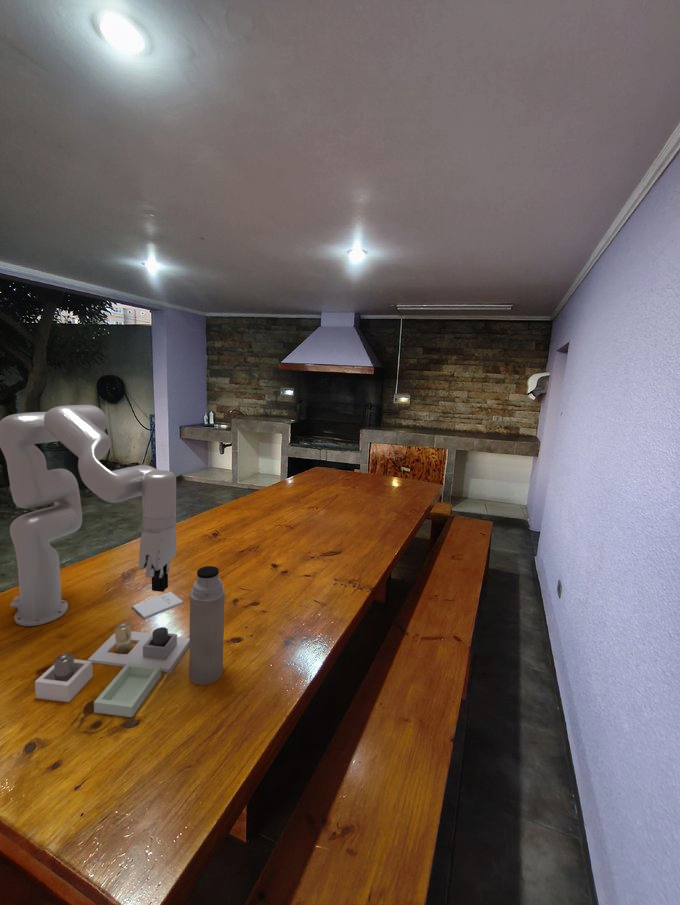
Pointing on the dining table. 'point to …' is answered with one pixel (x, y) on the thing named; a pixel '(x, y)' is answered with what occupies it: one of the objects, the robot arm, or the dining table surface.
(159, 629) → the test button
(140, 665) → the pale green trough
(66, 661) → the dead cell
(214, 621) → the thermos bottle
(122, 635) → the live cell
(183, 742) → the dining table surface
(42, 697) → the white open box
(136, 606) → the external hard drive
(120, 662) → the checker
